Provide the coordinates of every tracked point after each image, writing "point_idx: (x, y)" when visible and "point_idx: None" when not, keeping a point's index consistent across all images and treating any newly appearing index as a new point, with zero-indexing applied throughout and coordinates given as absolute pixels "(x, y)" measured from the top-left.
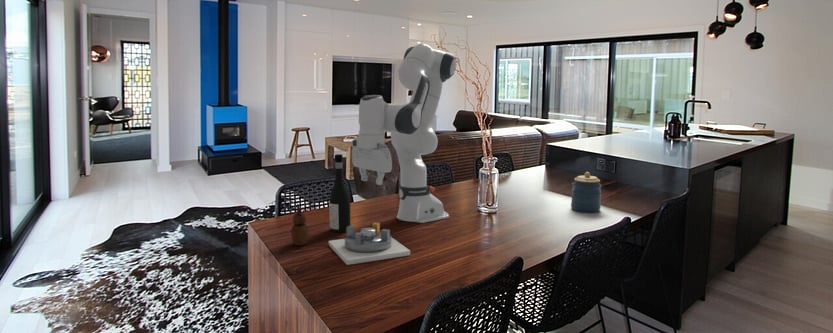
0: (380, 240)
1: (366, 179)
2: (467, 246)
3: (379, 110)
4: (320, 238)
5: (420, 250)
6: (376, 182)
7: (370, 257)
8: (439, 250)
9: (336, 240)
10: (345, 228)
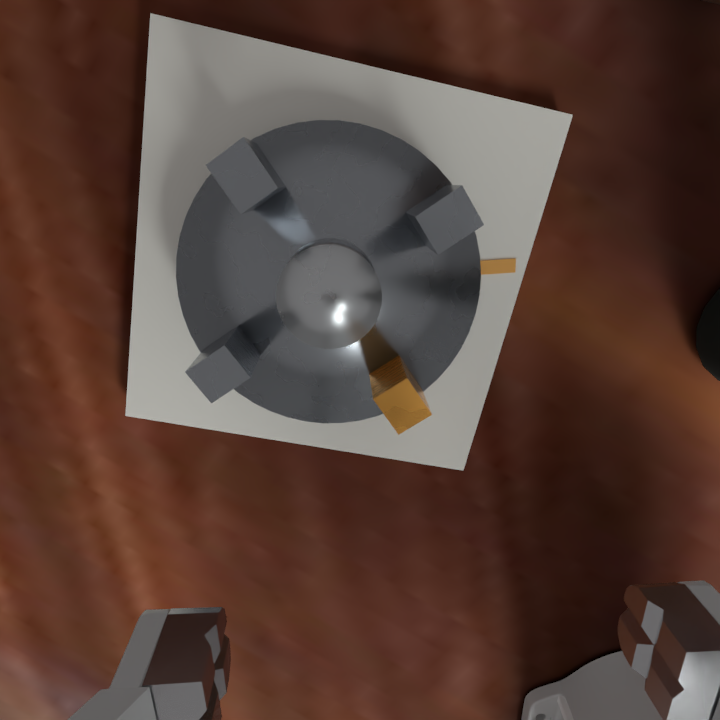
0: (243, 325)
1: (631, 643)
2: (117, 658)
3: None
4: (709, 139)
5: (174, 480)
6: (190, 628)
7: (140, 180)
8: (129, 545)
9: (543, 164)
10: (705, 334)
